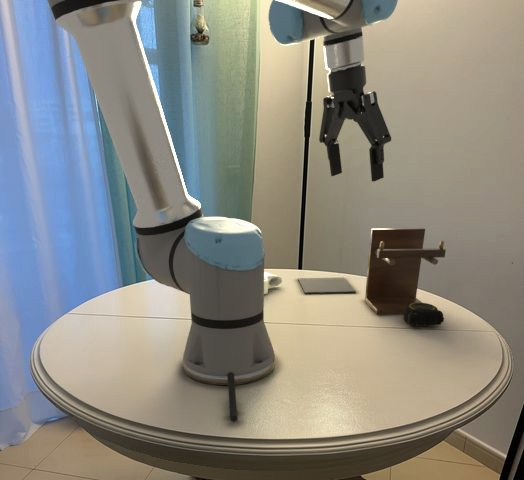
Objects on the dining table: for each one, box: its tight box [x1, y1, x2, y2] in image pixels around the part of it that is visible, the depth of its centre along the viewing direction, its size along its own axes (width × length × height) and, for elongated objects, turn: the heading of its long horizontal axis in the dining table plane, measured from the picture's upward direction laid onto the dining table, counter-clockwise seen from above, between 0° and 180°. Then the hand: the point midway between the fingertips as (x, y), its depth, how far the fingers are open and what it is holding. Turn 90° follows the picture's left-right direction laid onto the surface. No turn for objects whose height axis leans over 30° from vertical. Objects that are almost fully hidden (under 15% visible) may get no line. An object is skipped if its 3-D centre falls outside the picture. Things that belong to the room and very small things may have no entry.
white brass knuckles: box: [264, 271, 283, 295], centre depth 121 cm, size 3×18×15 cm
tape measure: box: [403, 302, 445, 328], centre depth 94 cm, size 7×7×4 cm
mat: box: [297, 277, 357, 295], centre depth 121 cm, size 14×13×1 cm
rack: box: [364, 227, 439, 315], centre depth 100 cm, size 12×12×17 cm
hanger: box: [377, 240, 447, 259], centre depth 94 cm, size 2×14×3 cm, turn 93°
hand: (356, 176), depth 101 cm, fingers open, 13 cm apart
